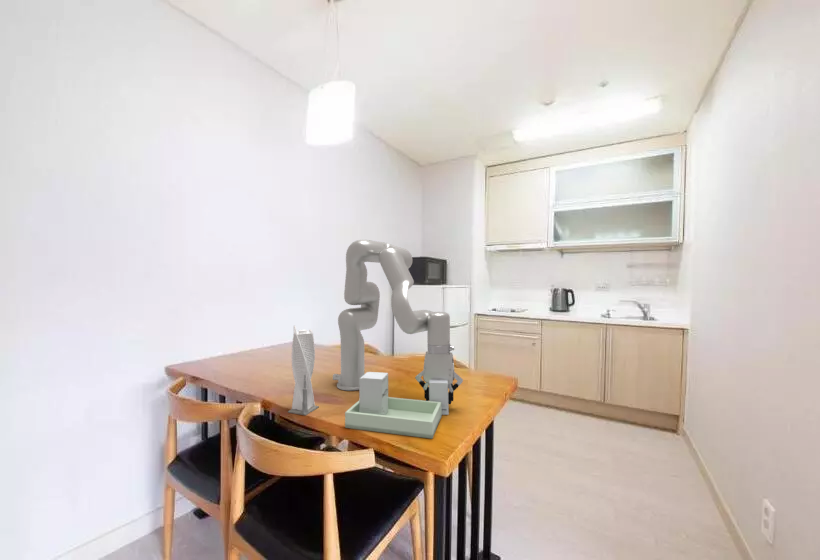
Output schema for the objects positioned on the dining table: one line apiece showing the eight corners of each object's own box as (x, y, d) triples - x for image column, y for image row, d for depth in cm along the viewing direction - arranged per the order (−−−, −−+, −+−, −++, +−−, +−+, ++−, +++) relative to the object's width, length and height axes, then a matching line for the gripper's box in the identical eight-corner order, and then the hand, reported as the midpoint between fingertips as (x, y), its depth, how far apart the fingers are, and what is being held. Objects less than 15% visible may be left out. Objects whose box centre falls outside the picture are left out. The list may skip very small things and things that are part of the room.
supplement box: (382, 421, 97) (381, 379, 97) (358, 419, 99) (358, 377, 99) (388, 411, 105) (388, 372, 105) (367, 409, 106) (366, 371, 106)
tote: (345, 427, 96) (345, 412, 96) (365, 408, 110) (365, 394, 110) (432, 438, 89) (432, 422, 89) (441, 416, 103) (441, 402, 103)
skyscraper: (284, 411, 107) (284, 326, 107) (300, 403, 115) (300, 323, 115) (305, 415, 104) (305, 327, 104) (320, 406, 112) (320, 324, 112)
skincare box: (429, 402, 115) (429, 372, 115) (448, 403, 115) (448, 373, 114) (428, 414, 105) (428, 381, 105) (448, 415, 104) (448, 382, 104)
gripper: (465, 348, 111) (466, 400, 111) (416, 345, 116) (416, 395, 116) (463, 352, 104) (463, 408, 104) (410, 349, 108) (411, 403, 108)
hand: (438, 401), depth 110 cm, fingers closed on skincare box, 7 cm apart
